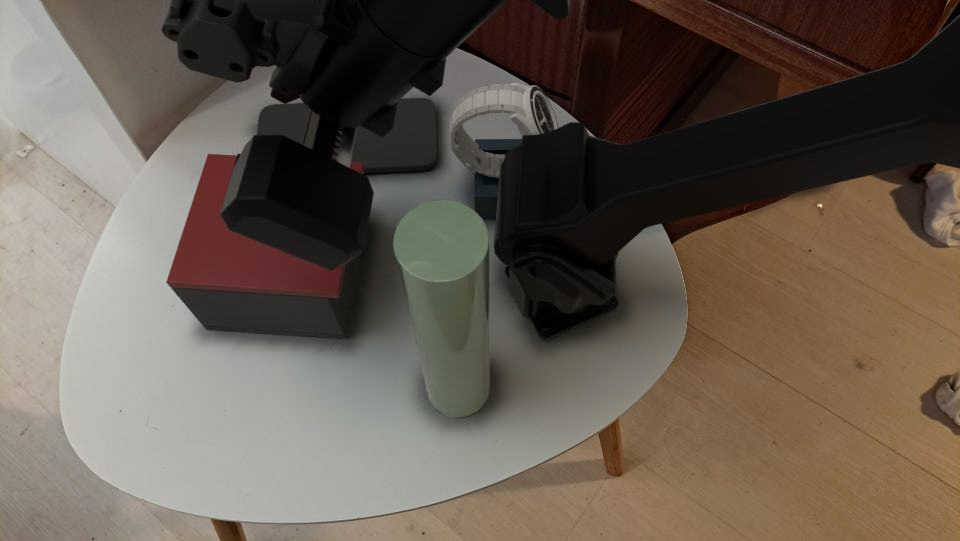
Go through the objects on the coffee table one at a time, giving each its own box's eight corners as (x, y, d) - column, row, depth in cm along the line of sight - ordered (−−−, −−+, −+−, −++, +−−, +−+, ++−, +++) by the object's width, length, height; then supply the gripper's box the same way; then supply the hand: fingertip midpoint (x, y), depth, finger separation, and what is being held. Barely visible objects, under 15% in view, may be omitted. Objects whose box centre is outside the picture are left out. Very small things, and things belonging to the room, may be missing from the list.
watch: (554, 219, 57) (567, 128, 48) (452, 219, 57) (445, 129, 48) (551, 162, 60) (563, 65, 50) (454, 162, 60) (447, 65, 50)
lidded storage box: (367, 218, 57) (353, 167, 52) (345, 339, 52) (327, 298, 47) (239, 211, 58) (211, 159, 52) (205, 329, 53) (170, 287, 47)
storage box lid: (364, 168, 52) (354, 128, 48) (339, 298, 47) (326, 266, 43) (210, 159, 52) (189, 119, 48) (169, 287, 47) (141, 254, 43)
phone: (437, 165, 59) (251, 174, 58) (438, 171, 60) (254, 180, 59) (435, 96, 62) (260, 103, 62) (435, 102, 63) (262, 110, 63)
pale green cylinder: (474, 348, 52) (465, 186, 34) (500, 402, 50) (505, 260, 33) (417, 372, 51) (379, 219, 34) (441, 428, 49) (414, 296, 32)
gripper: (283, -250, 32) (168, -28, 43) (160, 66, 23) (56, 243, 34) (480, -94, 37) (335, 66, 49) (444, 207, 29) (276, 318, 40)
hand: (261, 157), depth 42 cm, fingers open, 9 cm apart
